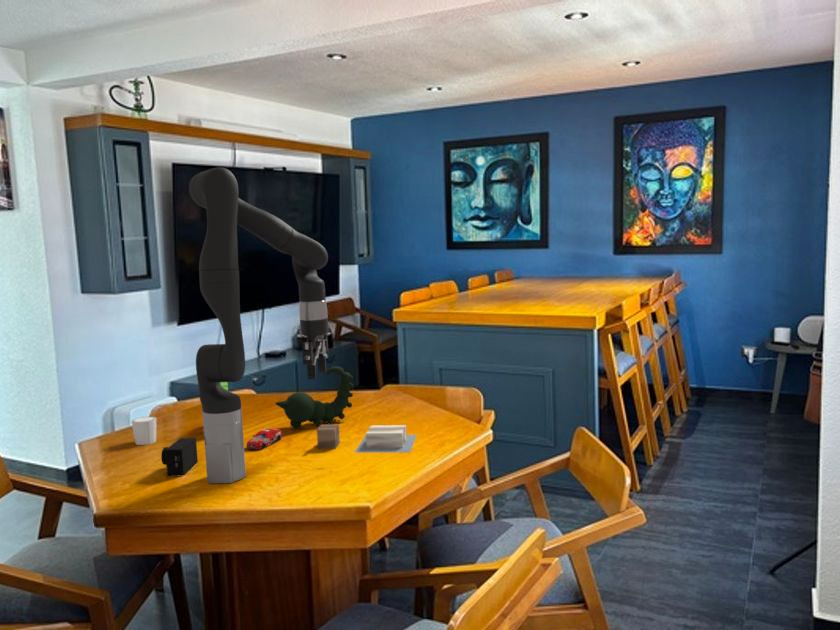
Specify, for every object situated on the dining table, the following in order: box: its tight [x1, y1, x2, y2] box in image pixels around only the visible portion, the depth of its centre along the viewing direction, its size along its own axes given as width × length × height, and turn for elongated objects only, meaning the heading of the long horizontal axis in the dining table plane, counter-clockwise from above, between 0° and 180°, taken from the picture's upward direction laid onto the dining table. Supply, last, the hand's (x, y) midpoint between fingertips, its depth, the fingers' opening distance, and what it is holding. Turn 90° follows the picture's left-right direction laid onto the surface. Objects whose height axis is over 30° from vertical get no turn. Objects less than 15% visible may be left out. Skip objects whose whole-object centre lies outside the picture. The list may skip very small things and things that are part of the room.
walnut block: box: [316, 424, 341, 450], centre depth 193 cm, size 5×5×6 cm
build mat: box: [354, 434, 418, 453], centre depth 193 cm, size 16×15×1 cm
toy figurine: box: [275, 365, 354, 430], centre depth 217 cm, size 9×19×25 cm
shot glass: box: [131, 416, 157, 446], centre depth 205 cm, size 7×7×7 cm
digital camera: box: [160, 437, 199, 477], centre depth 179 cm, size 10×5×7 cm, turn 178°
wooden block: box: [365, 424, 407, 448], centre depth 193 cm, size 8×10×4 cm
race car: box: [246, 428, 283, 450], centre depth 199 cm, size 13×5×4 cm, turn 158°
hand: (317, 375), depth 191 cm, fingers open, 8 cm apart
